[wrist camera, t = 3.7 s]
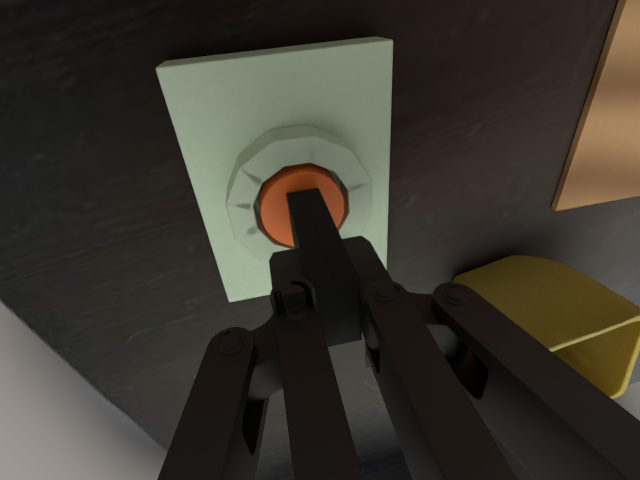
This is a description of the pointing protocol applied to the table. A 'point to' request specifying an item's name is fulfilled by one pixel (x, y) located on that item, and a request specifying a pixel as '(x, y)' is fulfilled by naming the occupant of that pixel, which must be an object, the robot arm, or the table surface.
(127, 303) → the table surface
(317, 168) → the round orange button
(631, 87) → the brown wooden board
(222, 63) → the green button base
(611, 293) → the flower pot
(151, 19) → the table surface
